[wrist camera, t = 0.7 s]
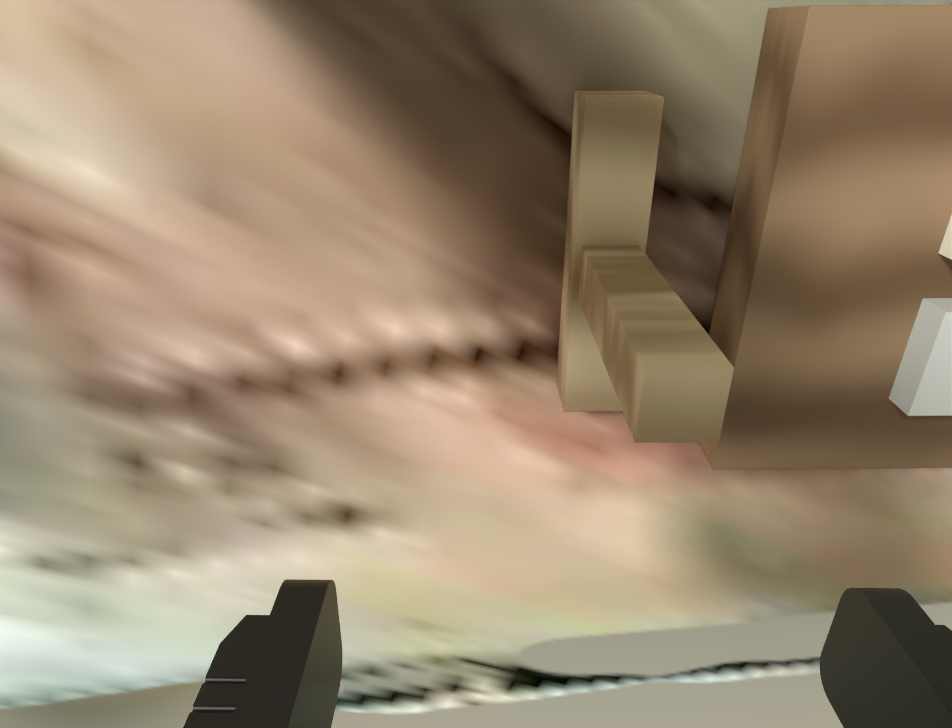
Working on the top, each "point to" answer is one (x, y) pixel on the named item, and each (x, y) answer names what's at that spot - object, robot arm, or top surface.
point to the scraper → (629, 286)
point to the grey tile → (927, 363)
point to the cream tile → (947, 242)
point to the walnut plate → (836, 239)
